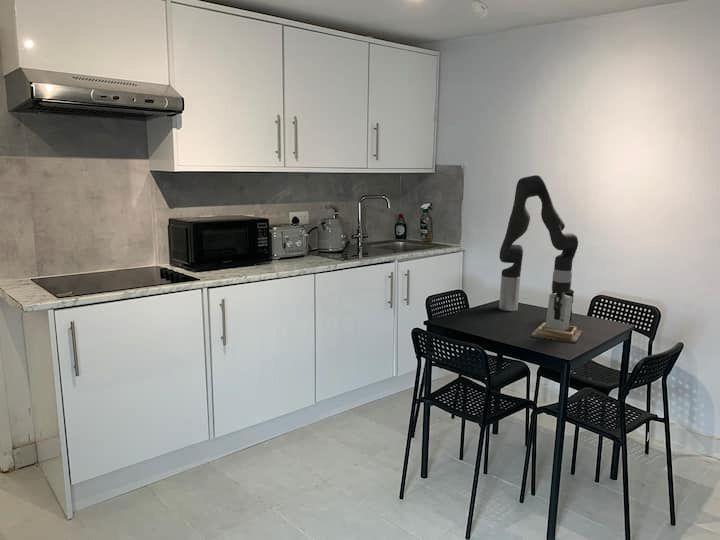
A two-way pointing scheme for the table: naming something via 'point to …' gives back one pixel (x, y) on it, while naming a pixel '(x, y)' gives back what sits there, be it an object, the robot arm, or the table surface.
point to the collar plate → (557, 333)
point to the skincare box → (564, 313)
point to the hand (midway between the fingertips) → (558, 317)
